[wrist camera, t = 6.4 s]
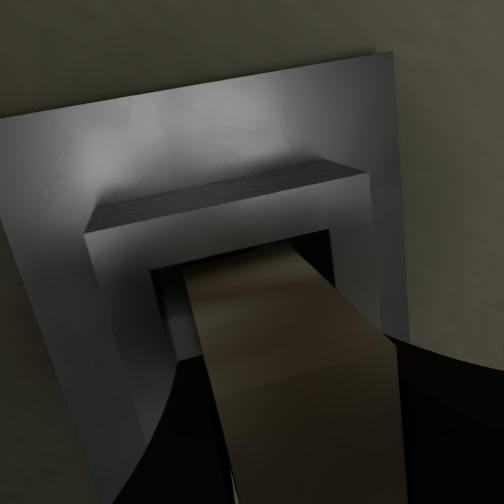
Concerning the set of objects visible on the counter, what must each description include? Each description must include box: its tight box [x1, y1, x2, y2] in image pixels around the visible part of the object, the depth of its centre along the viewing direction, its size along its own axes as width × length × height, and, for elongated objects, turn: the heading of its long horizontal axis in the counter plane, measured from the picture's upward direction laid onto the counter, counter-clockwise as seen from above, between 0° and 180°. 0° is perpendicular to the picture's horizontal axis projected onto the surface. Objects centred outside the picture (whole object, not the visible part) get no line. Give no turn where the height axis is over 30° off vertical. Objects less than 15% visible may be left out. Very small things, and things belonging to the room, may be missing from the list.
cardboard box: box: [182, 243, 408, 504], centre depth 11 cm, size 3×4×6 cm, turn 10°
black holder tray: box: [0, 51, 410, 504], centre depth 15 cm, size 12×20×4 cm, turn 10°
